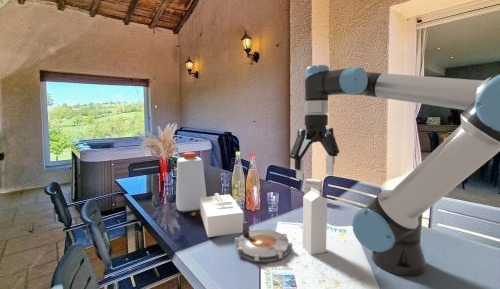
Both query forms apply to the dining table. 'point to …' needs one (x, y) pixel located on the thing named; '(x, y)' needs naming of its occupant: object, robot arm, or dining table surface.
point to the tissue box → (221, 215)
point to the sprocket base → (262, 259)
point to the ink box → (313, 185)
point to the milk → (314, 222)
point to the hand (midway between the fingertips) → (315, 176)
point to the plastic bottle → (190, 182)
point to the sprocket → (262, 243)
